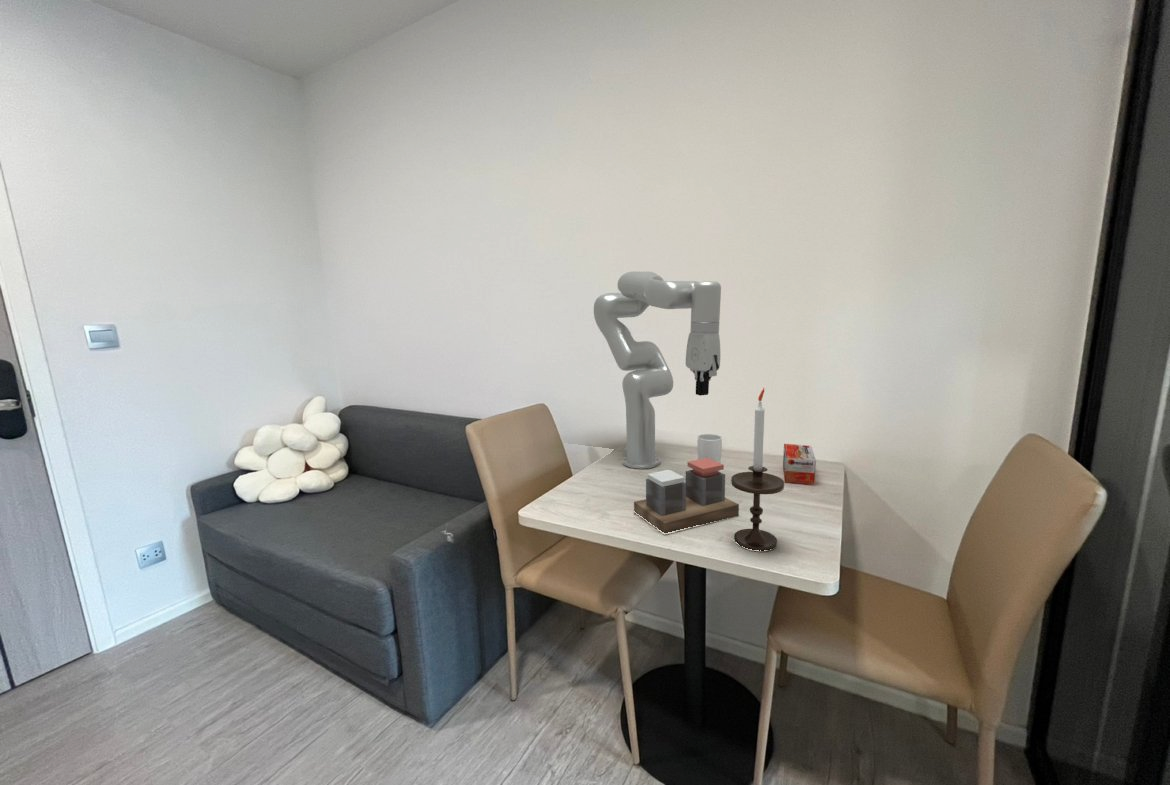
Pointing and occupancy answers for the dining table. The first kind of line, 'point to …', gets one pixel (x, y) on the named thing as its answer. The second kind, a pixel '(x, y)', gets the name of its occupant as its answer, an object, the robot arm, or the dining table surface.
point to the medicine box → (799, 464)
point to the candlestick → (757, 490)
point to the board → (686, 503)
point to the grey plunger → (665, 478)
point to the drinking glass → (709, 447)
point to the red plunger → (705, 467)
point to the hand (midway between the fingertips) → (701, 394)
